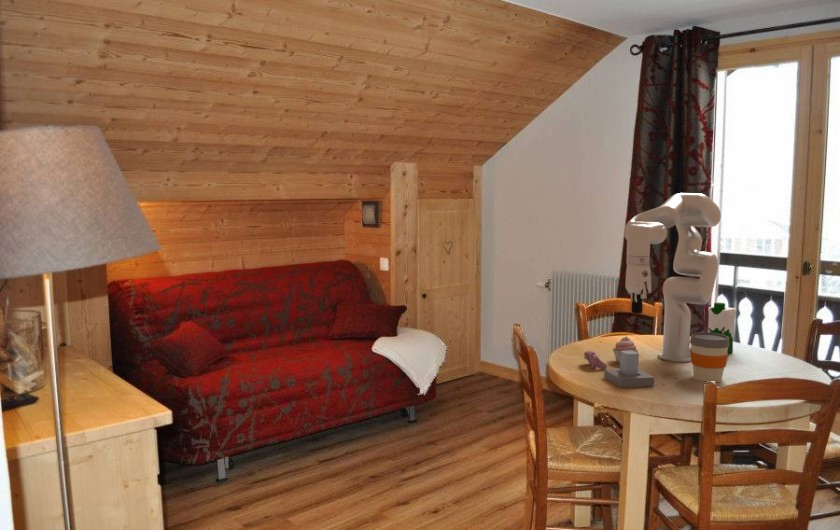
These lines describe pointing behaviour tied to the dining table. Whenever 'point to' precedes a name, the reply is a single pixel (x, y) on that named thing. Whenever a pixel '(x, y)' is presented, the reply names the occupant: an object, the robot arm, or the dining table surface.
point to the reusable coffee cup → (709, 355)
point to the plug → (629, 363)
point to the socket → (628, 379)
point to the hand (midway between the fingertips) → (636, 312)
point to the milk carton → (722, 322)
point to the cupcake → (623, 347)
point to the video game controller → (594, 360)
